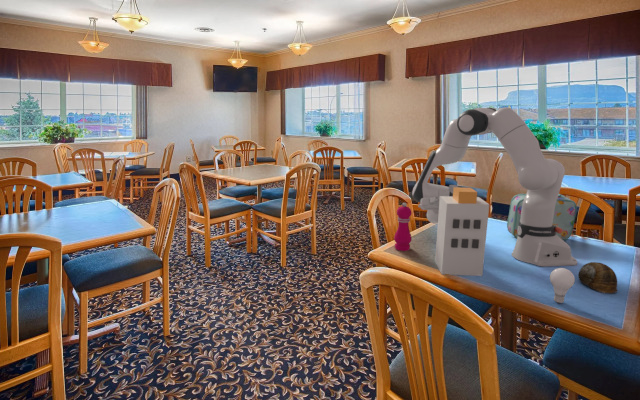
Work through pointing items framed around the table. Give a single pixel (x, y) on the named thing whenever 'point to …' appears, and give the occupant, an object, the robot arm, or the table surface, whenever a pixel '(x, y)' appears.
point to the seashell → (598, 277)
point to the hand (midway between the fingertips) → (447, 198)
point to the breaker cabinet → (461, 236)
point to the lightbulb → (561, 283)
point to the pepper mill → (403, 229)
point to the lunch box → (561, 219)
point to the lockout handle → (463, 194)
